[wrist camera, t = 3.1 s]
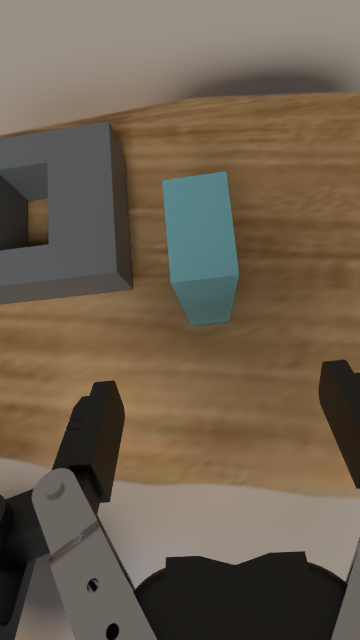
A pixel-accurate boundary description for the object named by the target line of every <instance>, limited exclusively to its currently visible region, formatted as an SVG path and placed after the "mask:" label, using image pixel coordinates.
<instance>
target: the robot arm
mask: <svg viewBox="0 0 360 640" xmlns="http://www.w3.org/2000/svg"><path fill="white" fill-rule="evenodd" d="M319 400H320V404H321V407H322V409H323V411H324V414H325V416H326V418H327V421H328V423H329V425H330V428H331V430H332V432H333V435H334V437H335V439H336V442H337V444H338V446H339V449H340V451H341V453H342V456H343V458H344V460H345V463H346V465H347V467H348V470H349V472H350V474H351V477H352V479H353V481H354V484H355V486H356V488H357V489H359V488H360V373H354V372H353V371H352V369H351V367H350V366H349V364H348V362H347V361H346V360H336V361H326V362H323V363H322V368H321V376H320V383H319ZM124 420H125V412H124V406H123V403H122V400H121V397H120V394H119V391H118V389H117V386H116V383H115V381H103V382H95V383H94V384H93V387H92V390H91V393H90V396H84V397H82V398H81V399H80V400H79V402H78V403H77V404H76V405H75V406H74V408H73V411H72V414H71V417H70V421H69V422H68V425H67V428H66V431H65V434H64V437H63V439H62V442H61V445H60V448H59V451H58V454H57V457H56V460H55V462H54V465H53V468H52V470H51V471H50V472H48V473H47V474H46V475H44V476H43V477H42V478H41V479H40V480H39V481H38V482H37V484H36V485H35V487H34V488H33V489H31V490H29V491H27V492H24V493H21V494H19V495H16V496H14V497H11V498H8V499H6V500H5V499H4V498H3V497H2V496H1V495H0V640H14V639H15V635H16V632H17V628H18V624H19V620H20V617H21V613H22V610H23V606H24V602H25V598H26V595H27V591H28V587H29V583H30V580H31V576H32V572H33V568H34V565H35V561H36V558H38V557H41V556H43V555H45V554H47V553H51V559H50V566H51V569H52V573H53V575H54V578H55V581H56V584H57V587H58V590H59V593H60V596H61V599H62V602H63V605H64V607H65V610H66V613H67V616H68V619H69V622H70V625H71V627H72V631H73V633H74V636H75V639H76V640H360V538H359V541H358V544H357V548H356V550H355V554H354V557H353V560H352V562H351V565H350V568H349V572H348V575H347V578H346V581H343V580H342V579H341V578H340V577H338V576H337V575H335V574H334V573H332V572H331V571H328V570H327V569H325V568H323V567H321V566H318V565H316V564H313V563H309V562H307V559H306V555H305V552H280V553H268V554H265V555H263V556H260V557H257V558H255V559H252V560H249V561H246V562H243V563H241V564H238V565H231V564H228V563H224V562H220V561H216V560H212V559H209V558H205V557H201V556H188V557H167V558H166V568H164V569H161V570H159V571H157V572H155V573H153V574H152V575H151V576H149V577H148V578H146V579H145V580H144V581H143V582H142V583H141V584H140V585H139V586H138V587H137V588H135V587H134V585H133V583H132V581H131V579H130V577H129V575H128V573H127V572H126V570H125V568H124V566H123V564H122V562H121V560H120V558H119V556H118V554H117V553H116V551H115V549H114V547H113V545H112V543H111V541H110V539H109V537H108V535H107V533H106V531H105V529H104V527H103V525H102V523H101V521H100V519H99V518H98V516H97V513H98V508H99V504H100V503H104V502H110V497H111V492H112V486H113V481H114V475H115V470H116V464H117V459H118V453H119V448H120V443H121V437H122V432H123V426H124Z"/></svg>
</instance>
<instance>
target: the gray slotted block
mask: <svg viewBox="0 0 360 640" xmlns="http://www.w3.org/2000/svg"><path fill="white" fill-rule="evenodd" d="M45 198H48V235H49V244H47V245H39V246H32V247H28V201H31V200H38V199H45ZM132 289H133V283H132V267H131V251H130V234H129V218H128V202H127V186H126V169H125V158H124V156H123V154H122V151H121V149H120V146H119V144H118V142H117V139H116V137H115V135H114V132H113V130H112V127H111V125H110V123H109V121H106V122H100V123H94V124H87V125H81V126H75V127H69V128H63V129H56V130H50V131H44V132H38V133H32V134H26V135H19V136H13V137H7V138H1V139H0V304H9V303H18V302H26V301H35V300H44V299H53V298H62V297H70V296H79V295H88V294H97V293H105V292H114V291H123V290H132Z"/></svg>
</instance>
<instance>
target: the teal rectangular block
mask: <svg viewBox="0 0 360 640" xmlns="http://www.w3.org/2000/svg"><path fill="white" fill-rule="evenodd" d="M162 185H163V197H164V209H165V221H166V233H167V245H168V257H169V269H170V281H171V285H172V287H173V289H174V291H175V293H176V295H177V297H178V299H179V301H180V303H181V305H182V308H183V310H184V312H185V314H186V316H187V318H188V320H189V322H190V324H191V326H193V325H203V324H212V323H222V322H229V320H230V316H231V311H232V306H233V302H234V297H235V292H236V288H237V283H238V278H239V269H238V261H237V253H236V245H235V237H234V228H233V220H232V212H231V204H230V196H229V188H228V180H227V172H226V171H224V172H217V173H210V174H203V175H196V176H189V177H182V178H175V179H168V180H162Z"/></svg>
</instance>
